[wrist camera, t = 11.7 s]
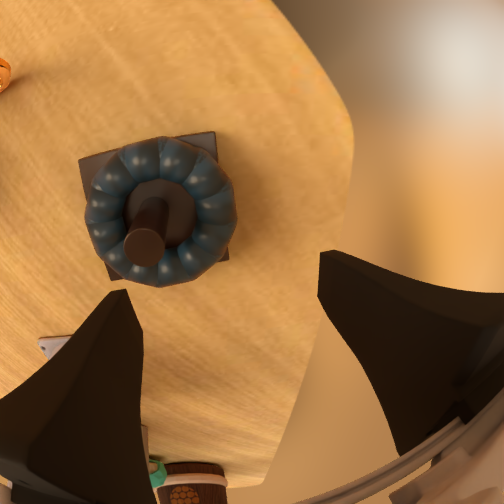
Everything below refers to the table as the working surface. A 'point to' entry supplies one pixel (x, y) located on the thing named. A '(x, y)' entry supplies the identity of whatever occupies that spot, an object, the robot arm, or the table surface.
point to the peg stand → (153, 208)
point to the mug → (193, 484)
